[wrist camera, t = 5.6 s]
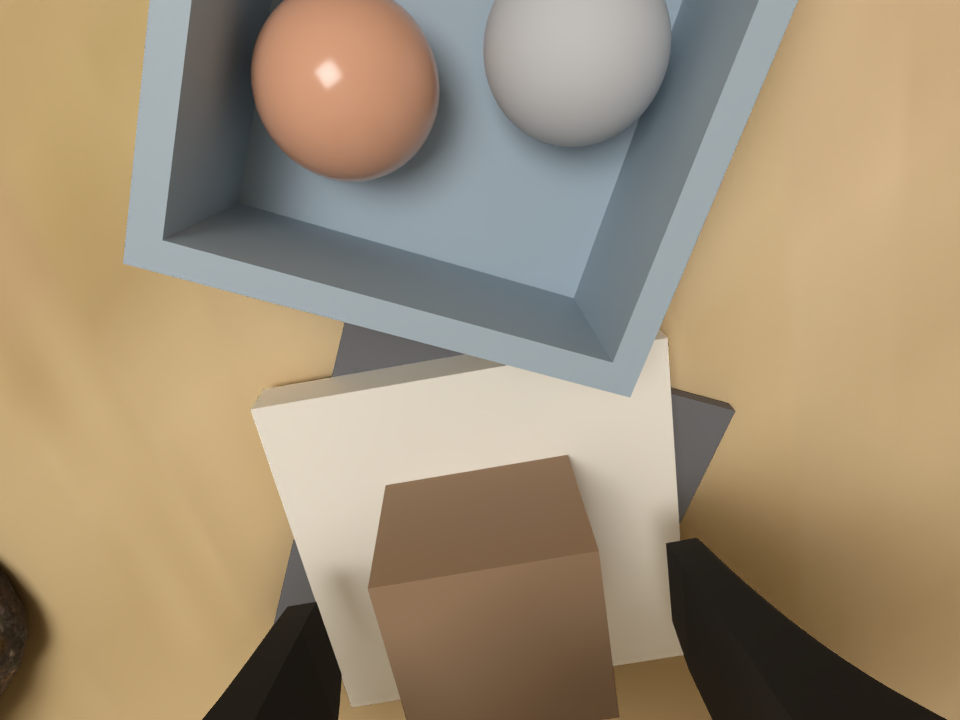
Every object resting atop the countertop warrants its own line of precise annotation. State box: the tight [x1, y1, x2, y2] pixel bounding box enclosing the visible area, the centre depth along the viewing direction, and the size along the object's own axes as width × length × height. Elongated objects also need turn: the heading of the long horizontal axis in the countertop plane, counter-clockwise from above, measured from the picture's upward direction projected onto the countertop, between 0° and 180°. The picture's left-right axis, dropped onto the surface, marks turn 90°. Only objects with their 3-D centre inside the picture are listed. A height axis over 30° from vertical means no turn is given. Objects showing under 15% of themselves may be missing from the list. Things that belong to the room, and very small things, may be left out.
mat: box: [274, 322, 735, 624], centre depth 16 cm, size 9×9×1 cm
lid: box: [250, 329, 684, 720], centre depth 14 cm, size 9×9×4 cm
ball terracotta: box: [251, 0, 440, 182], centre depth 11 cm, size 3×3×3 cm
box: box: [123, 0, 798, 397], centre depth 10 cm, size 8×8×4 cm
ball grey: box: [483, 0, 672, 147], centre depth 11 cm, size 3×3×3 cm
